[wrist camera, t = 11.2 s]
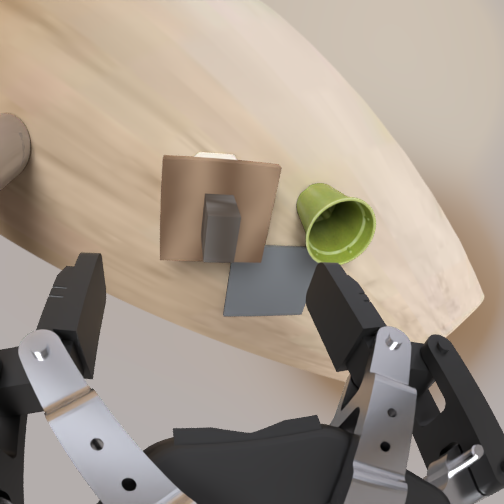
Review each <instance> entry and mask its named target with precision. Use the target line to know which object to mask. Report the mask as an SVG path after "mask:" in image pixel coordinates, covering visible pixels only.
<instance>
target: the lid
mask: <svg viewBox="0 0 504 504" xmlns="http://www.w3.org/2000/svg"><path fill="white" fill-rule="evenodd" d="M280 173H281V167H280V166H279V164H271V163H262V162H253V161H242V160H231V159H219V158H206V157H190V156H170V155H164V157H163V167H162V186H161V215H160V260H175V261H203V262H220V263H234V262H250V263H261V261H262V256H263V252H264V247H265V243H266V238H267V233H268V229H269V224H270V220H271V215H272V210H273V206H274V201H275V196H276V192H277V187H278V182H279V178H280Z"/></svg>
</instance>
